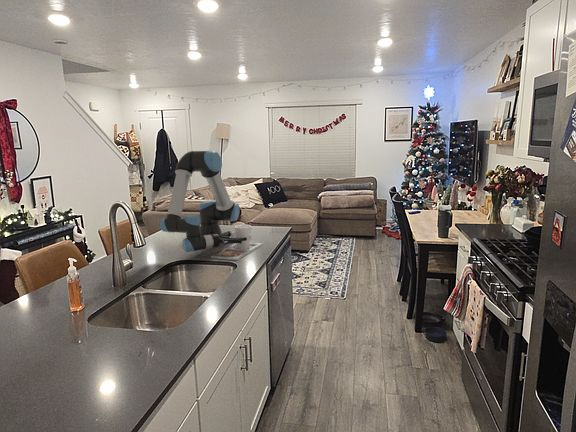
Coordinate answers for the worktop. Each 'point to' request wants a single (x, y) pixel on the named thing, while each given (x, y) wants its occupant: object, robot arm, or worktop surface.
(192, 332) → the worktop surface
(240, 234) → the foam cup
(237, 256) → the flat grey tray
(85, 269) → the worktop surface
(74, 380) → the worktop surface
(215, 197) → the robot arm
